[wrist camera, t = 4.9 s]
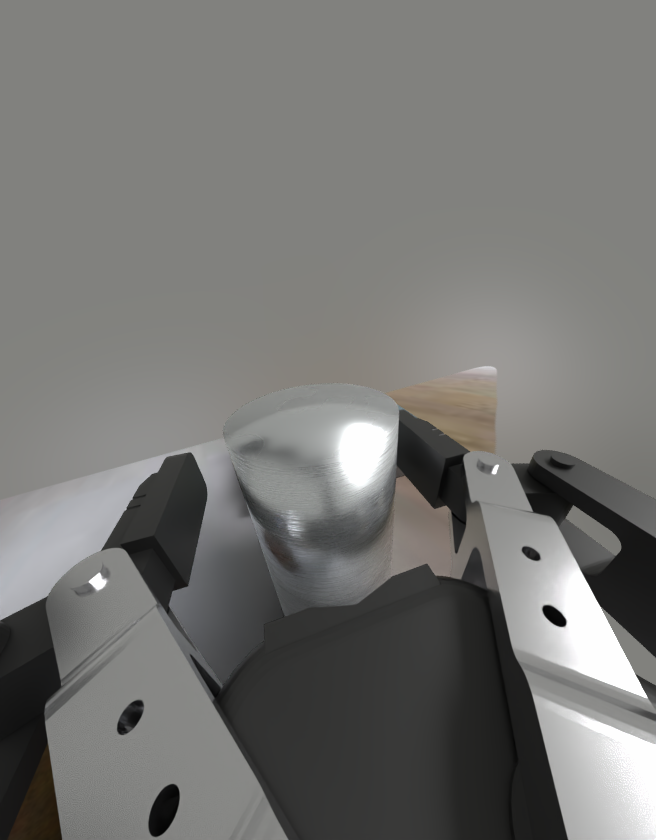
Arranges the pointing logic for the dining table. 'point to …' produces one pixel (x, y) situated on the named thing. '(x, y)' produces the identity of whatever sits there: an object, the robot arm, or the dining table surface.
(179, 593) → the dining table surface
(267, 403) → the cylinder
